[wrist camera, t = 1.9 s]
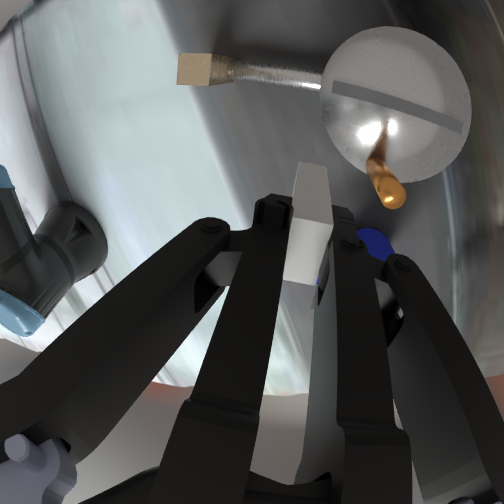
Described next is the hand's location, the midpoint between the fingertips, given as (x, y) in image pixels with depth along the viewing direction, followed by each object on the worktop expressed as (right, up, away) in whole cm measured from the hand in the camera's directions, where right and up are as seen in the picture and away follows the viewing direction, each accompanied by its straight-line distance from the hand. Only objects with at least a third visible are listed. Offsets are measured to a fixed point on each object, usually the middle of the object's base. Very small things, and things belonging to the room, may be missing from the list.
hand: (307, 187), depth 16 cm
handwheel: (+10, +10, +7) cm, 16 cm away
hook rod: (+4, +17, +15) cm, 23 cm away
